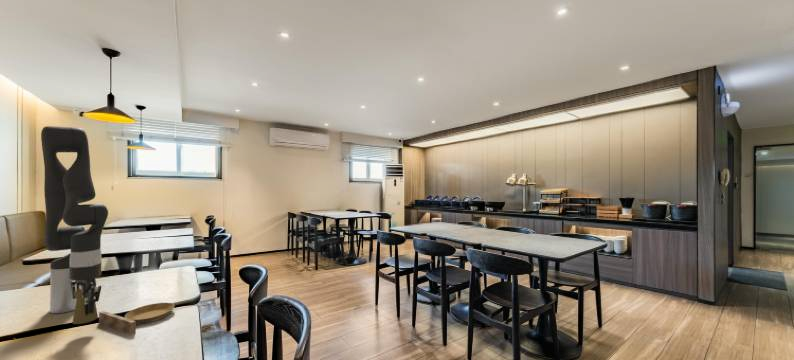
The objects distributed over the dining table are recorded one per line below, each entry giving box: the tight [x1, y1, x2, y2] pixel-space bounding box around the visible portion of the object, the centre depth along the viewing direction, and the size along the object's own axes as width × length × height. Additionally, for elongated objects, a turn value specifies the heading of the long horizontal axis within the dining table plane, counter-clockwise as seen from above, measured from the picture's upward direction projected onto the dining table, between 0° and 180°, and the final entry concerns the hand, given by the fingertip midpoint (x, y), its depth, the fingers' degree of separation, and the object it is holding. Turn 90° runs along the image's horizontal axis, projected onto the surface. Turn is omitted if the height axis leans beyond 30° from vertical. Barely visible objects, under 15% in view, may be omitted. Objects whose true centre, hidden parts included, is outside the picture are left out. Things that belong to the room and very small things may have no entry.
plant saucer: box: [124, 302, 175, 324], centre depth 115 cm, size 15×15×3 cm
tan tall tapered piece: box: [72, 289, 99, 325], centre depth 102 cm, size 6×6×11 cm
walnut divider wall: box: [98, 310, 137, 335], centre depth 106 cm, size 20×1×4 cm, turn 68°
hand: (85, 312), depth 102 cm, fingers closed on tan tall tapered piece, 4 cm apart
